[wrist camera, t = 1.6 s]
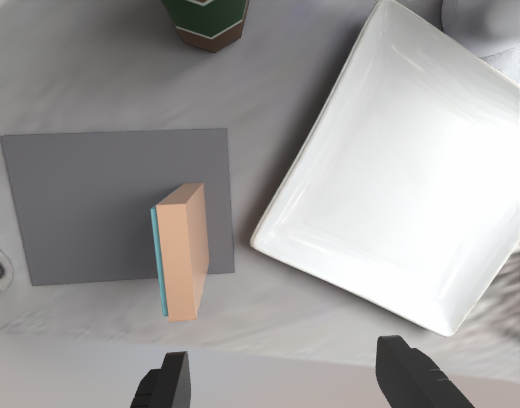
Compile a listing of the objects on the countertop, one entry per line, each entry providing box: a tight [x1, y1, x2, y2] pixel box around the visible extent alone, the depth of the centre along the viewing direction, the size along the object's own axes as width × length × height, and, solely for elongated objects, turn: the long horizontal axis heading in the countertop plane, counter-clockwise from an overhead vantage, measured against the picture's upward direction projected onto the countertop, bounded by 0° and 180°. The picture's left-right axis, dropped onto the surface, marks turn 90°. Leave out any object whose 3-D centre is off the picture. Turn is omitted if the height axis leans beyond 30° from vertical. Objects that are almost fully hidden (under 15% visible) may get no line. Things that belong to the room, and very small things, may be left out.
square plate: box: [250, 0, 520, 337], centre depth 32 cm, size 27×27×4 cm
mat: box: [0, 128, 235, 286], centre depth 31 cm, size 22×16×1 cm
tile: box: [151, 183, 209, 322], centre depth 26 cm, size 2×9×11 cm, turn 2°
